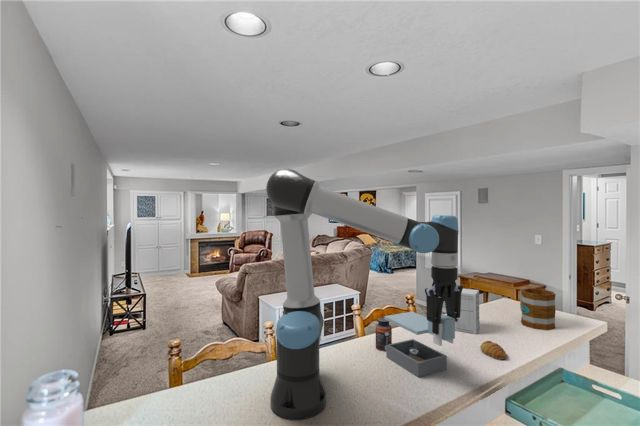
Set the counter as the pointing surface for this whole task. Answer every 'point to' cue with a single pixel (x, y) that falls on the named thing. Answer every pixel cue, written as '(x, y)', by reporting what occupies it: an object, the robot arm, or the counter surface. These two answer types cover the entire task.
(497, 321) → the counter surface
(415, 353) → the ball
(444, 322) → the lid
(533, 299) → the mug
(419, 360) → the walnut block
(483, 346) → the pastry
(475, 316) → the supplement box
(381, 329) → the supplement bottle
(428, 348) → the tub
